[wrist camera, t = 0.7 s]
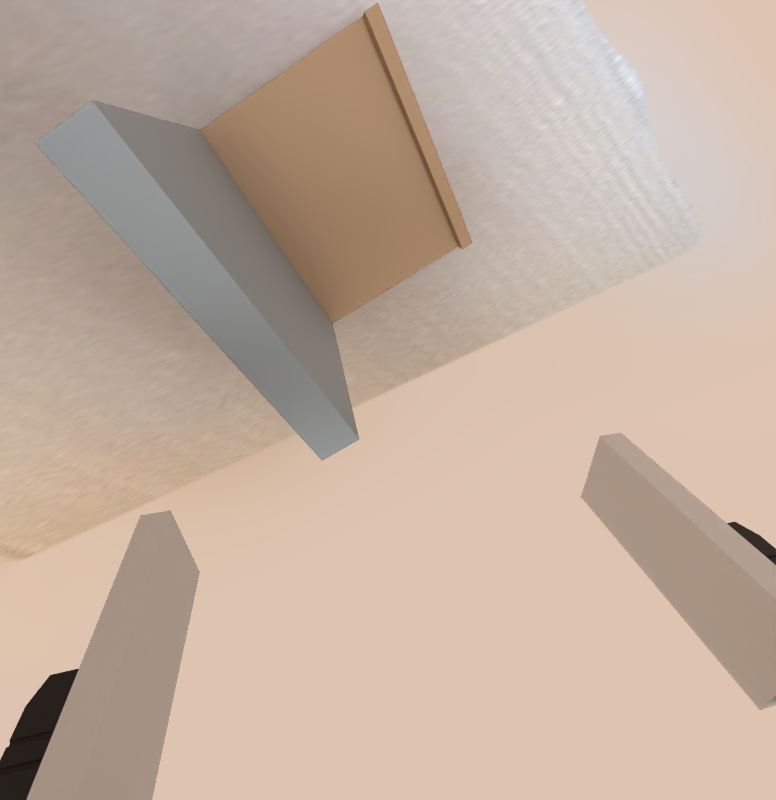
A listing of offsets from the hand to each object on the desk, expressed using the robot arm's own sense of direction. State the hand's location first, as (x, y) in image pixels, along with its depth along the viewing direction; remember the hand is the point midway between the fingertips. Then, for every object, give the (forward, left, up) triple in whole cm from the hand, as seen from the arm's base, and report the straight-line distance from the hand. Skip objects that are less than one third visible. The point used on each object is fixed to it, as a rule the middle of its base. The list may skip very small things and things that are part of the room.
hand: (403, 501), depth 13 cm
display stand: (-6, +4, -24) cm, 25 cm away
